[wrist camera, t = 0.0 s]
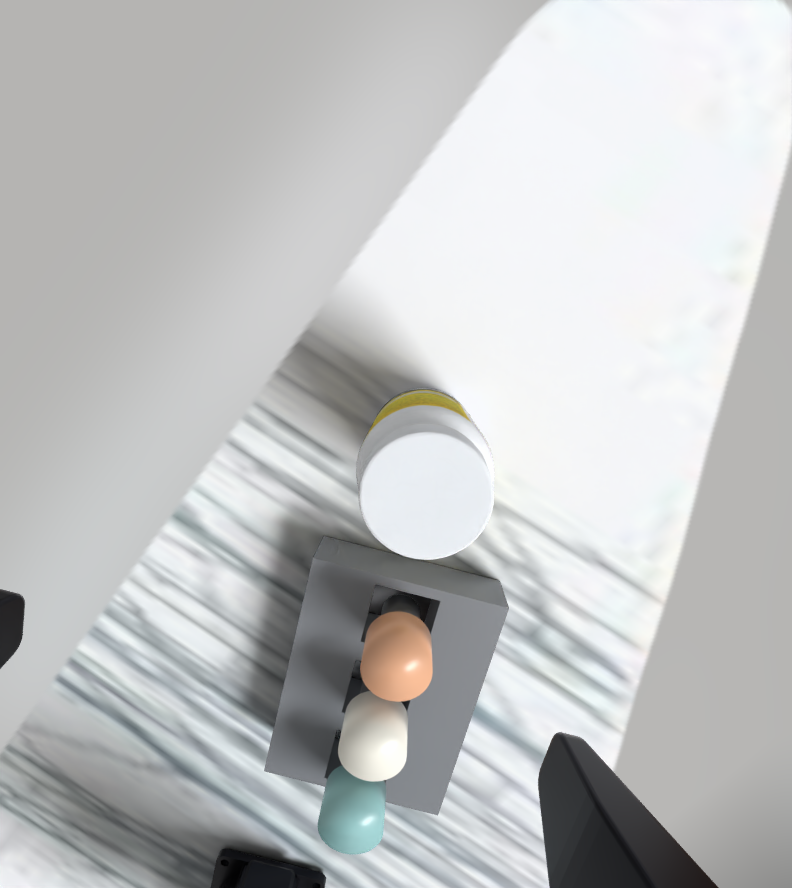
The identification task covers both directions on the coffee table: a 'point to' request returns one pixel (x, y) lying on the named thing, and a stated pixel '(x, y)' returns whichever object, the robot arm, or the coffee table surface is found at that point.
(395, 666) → the peach orange egg
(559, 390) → the coffee table surface
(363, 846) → the light blue egg
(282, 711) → the panel
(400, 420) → the supplement bottle
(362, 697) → the cream white egg
